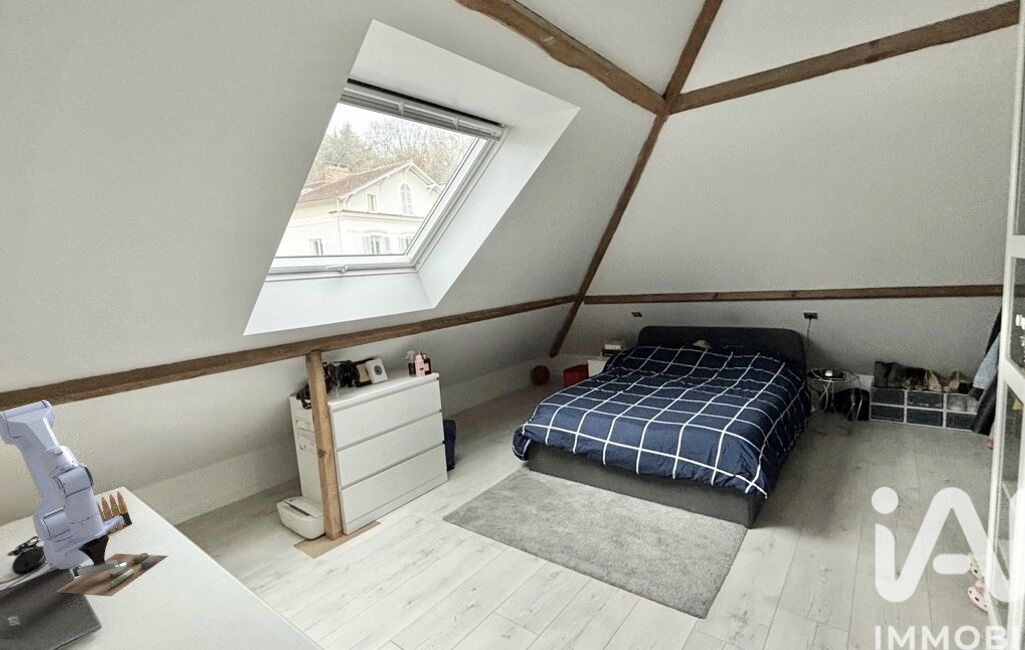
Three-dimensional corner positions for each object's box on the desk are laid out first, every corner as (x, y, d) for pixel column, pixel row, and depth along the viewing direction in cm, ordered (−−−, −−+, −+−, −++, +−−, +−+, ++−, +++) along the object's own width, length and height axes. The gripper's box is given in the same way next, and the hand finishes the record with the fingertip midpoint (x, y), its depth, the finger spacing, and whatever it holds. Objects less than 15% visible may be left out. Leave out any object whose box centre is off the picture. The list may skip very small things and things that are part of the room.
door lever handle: (71, 586, 115) (67, 573, 115) (82, 576, 119) (78, 563, 118) (122, 576, 116) (118, 563, 116) (132, 566, 120) (128, 554, 119)
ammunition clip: (87, 547, 136) (74, 508, 134) (86, 544, 137) (73, 506, 135) (133, 527, 144) (122, 490, 142) (132, 525, 145) (121, 488, 143)
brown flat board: (56, 596, 115) (53, 586, 114) (117, 557, 128) (114, 548, 127) (112, 600, 110) (109, 590, 109) (169, 560, 123) (166, 550, 123)
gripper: (62, 535, 108) (80, 588, 111) (126, 500, 122) (141, 548, 124) (39, 535, 110) (58, 587, 112) (105, 500, 124) (120, 547, 126)
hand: (100, 566), depth 119 cm, fingers closed, pressing on door lever handle
